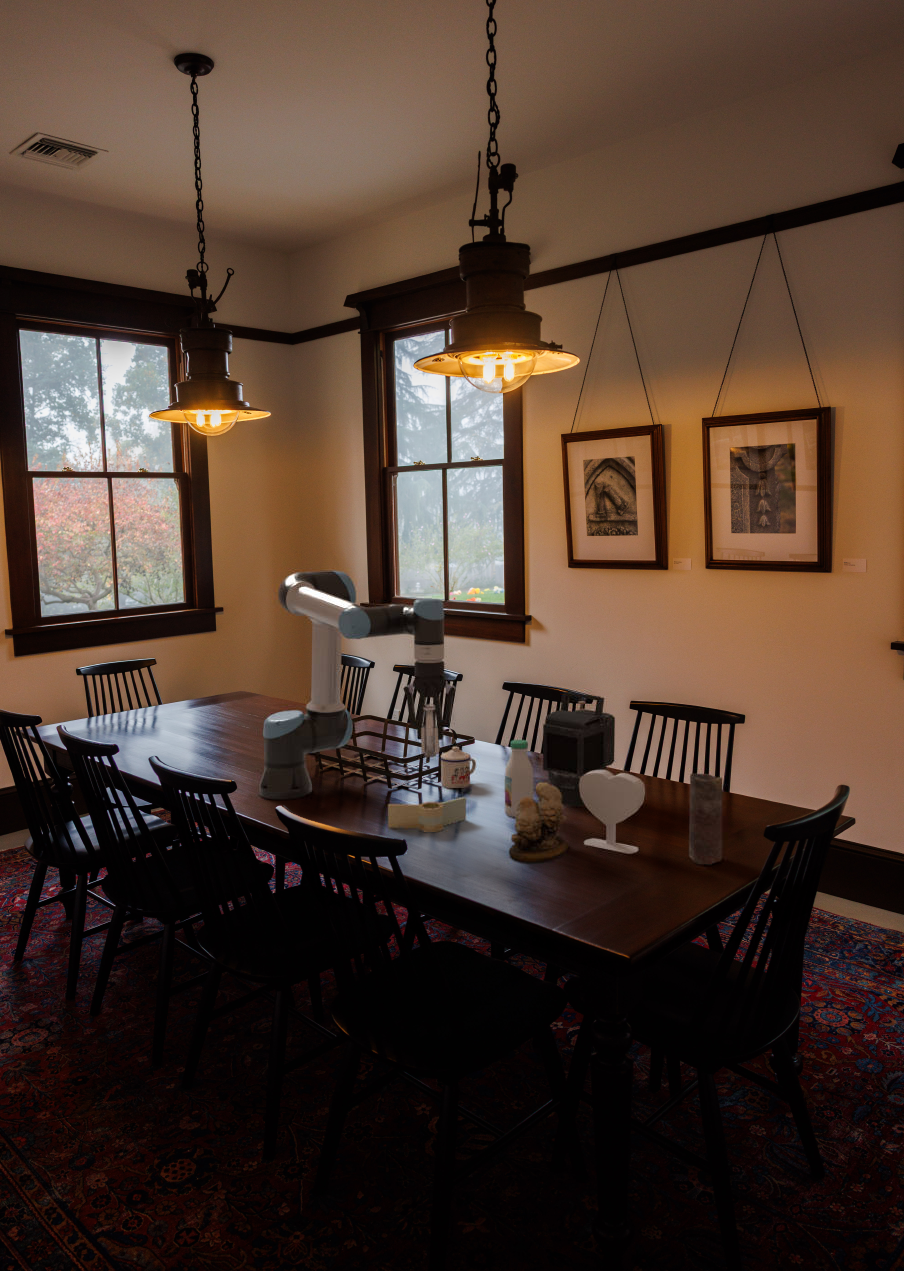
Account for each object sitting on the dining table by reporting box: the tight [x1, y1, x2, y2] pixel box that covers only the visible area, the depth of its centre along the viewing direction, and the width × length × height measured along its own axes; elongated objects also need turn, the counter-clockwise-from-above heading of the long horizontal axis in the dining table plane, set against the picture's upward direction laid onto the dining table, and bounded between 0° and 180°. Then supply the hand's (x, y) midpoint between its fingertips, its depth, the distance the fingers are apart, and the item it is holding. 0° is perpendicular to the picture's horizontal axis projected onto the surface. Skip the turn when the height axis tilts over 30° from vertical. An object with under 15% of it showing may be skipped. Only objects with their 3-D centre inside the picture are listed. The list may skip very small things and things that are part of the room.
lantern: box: [542, 691, 616, 807], centre depth 245 cm, size 15×18×30 cm
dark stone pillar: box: [688, 773, 723, 866], centre depth 199 cm, size 8×7×20 cm
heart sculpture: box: [579, 769, 646, 855], centre depth 208 cm, size 16×5×18 cm, turn 57°
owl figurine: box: [508, 781, 569, 864], centre depth 205 cm, size 18×12×17 cm, turn 139°
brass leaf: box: [387, 801, 445, 833], centre depth 223 cm, size 14×6×6 cm, turn 83°
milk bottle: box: [504, 739, 535, 818], centre depth 232 cm, size 8×8×20 cm
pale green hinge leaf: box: [418, 796, 467, 826], centre depth 224 cm, size 14×6×6 cm, turn 128°
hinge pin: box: [423, 704, 437, 758], centre depth 219 cm, size 4×4×13 cm
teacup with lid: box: [440, 746, 477, 789], centre depth 261 cm, size 12×9×12 cm
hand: (430, 751), depth 220 cm, fingers closed on hinge pin, 3 cm apart
